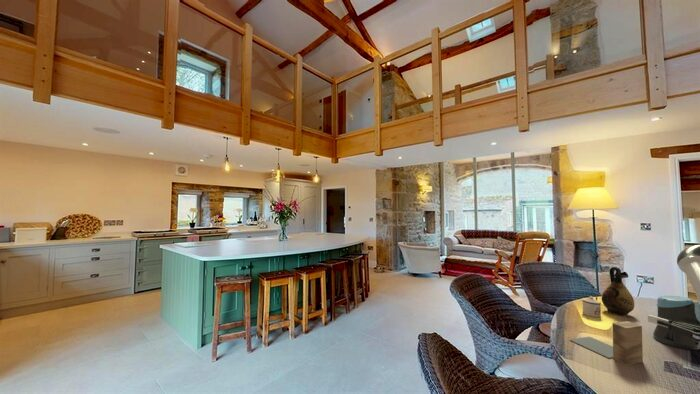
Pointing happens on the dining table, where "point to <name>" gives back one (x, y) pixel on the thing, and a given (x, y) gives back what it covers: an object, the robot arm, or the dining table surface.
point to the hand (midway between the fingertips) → (649, 318)
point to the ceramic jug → (617, 294)
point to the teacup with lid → (591, 307)
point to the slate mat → (595, 346)
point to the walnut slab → (627, 342)
